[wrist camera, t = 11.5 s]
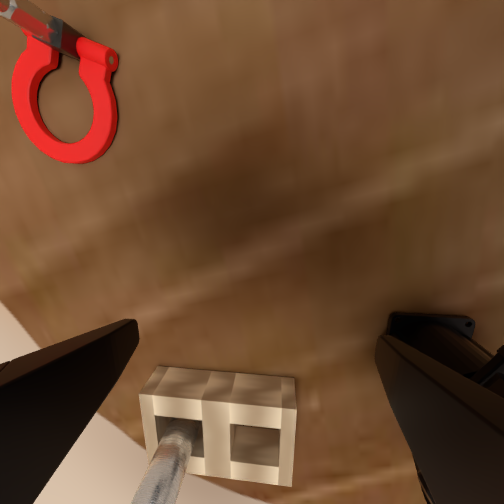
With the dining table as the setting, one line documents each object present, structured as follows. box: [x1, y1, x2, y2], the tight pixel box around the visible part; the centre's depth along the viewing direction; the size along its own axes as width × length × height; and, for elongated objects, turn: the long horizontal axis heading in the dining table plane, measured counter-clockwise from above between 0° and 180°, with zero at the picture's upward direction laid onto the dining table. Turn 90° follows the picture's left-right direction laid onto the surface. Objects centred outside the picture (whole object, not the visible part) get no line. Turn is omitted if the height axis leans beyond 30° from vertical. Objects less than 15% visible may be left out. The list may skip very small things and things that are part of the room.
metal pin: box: [131, 417, 202, 504], centre depth 21 cm, size 3×3×10 cm
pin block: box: [139, 366, 297, 487], centre depth 23 cm, size 14×9×4 cm, turn 90°
